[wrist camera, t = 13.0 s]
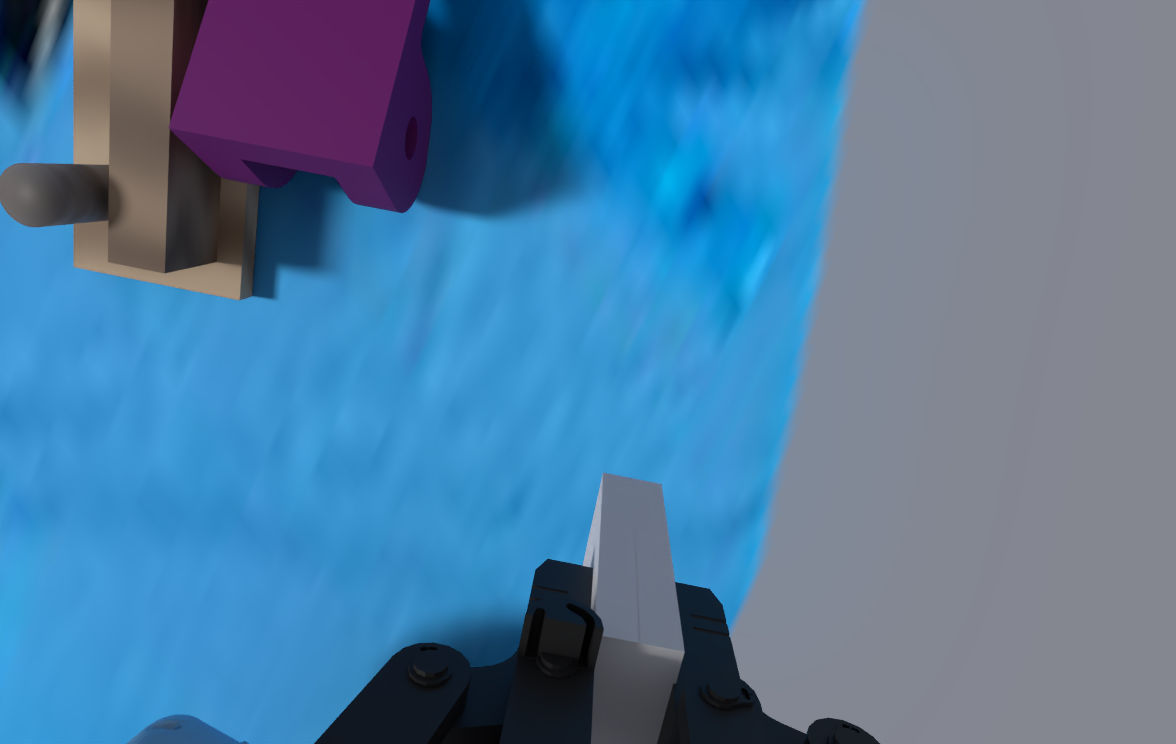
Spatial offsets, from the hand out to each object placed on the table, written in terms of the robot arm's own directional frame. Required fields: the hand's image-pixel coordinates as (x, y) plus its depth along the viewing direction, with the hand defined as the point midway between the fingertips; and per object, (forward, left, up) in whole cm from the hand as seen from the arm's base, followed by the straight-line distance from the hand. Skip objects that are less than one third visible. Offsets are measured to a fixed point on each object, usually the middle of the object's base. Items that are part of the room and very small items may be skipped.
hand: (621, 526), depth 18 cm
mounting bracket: (+13, +18, -27) cm, 35 cm away
